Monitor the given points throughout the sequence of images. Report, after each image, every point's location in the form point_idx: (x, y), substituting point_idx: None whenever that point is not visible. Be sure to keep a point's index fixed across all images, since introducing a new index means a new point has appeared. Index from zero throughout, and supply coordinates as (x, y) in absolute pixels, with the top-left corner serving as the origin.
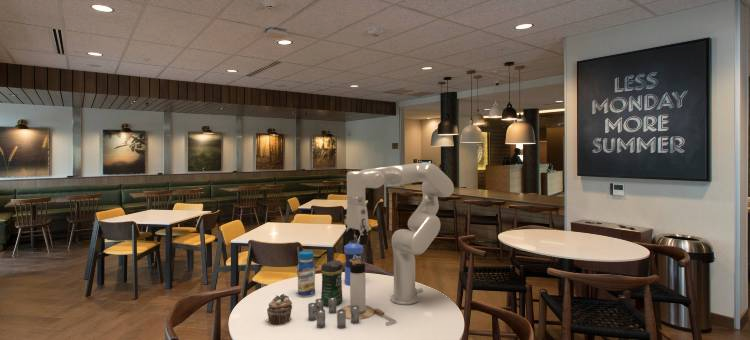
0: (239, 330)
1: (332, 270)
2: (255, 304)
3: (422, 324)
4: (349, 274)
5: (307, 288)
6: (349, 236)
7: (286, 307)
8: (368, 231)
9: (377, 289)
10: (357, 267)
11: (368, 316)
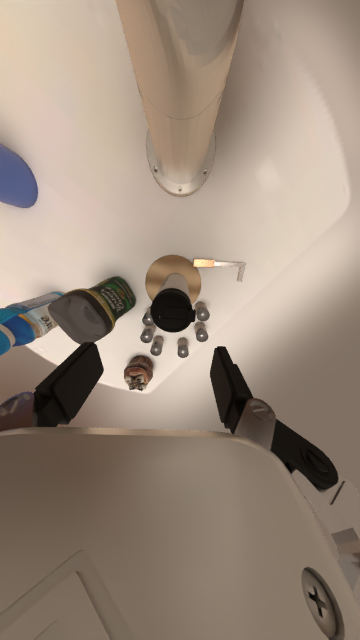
0: (143, 391)
1: (110, 329)
2: None
3: (282, 231)
4: (2, 195)
5: None
6: (88, 384)
7: (148, 374)
8: (313, 448)
9: (83, 157)
10: (188, 325)
11: (200, 284)
